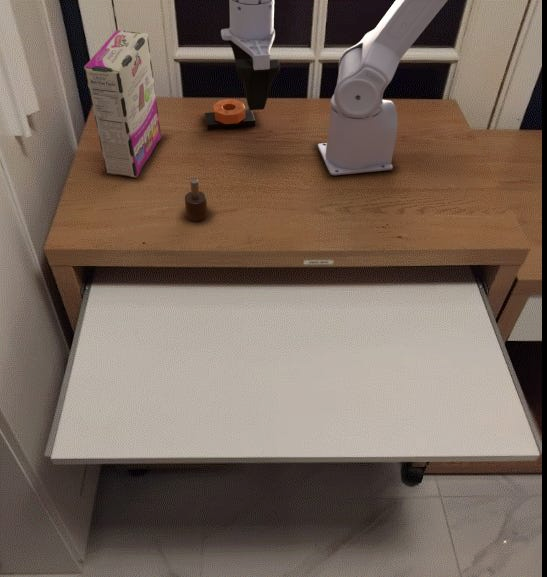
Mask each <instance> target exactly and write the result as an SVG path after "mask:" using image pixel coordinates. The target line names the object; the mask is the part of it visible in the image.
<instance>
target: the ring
mask: <svg viewBox="0 0 547 577" xmlns="http://www.w3.org/2000/svg"><path fill="white" fill-rule="evenodd" d="M212 110H213V111H212V112H213V113H214V117H215V120H216V121H219V122H221V123H224V124H234V123H239V122H240V121H242V120H243V119H244V118H245V110H246V107H245V104H244V102H242V101H240V100H237V99H234V98H226V99H220V100H218V101H217V102H216V103H214V104H213V105H212Z"/></svg>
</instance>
